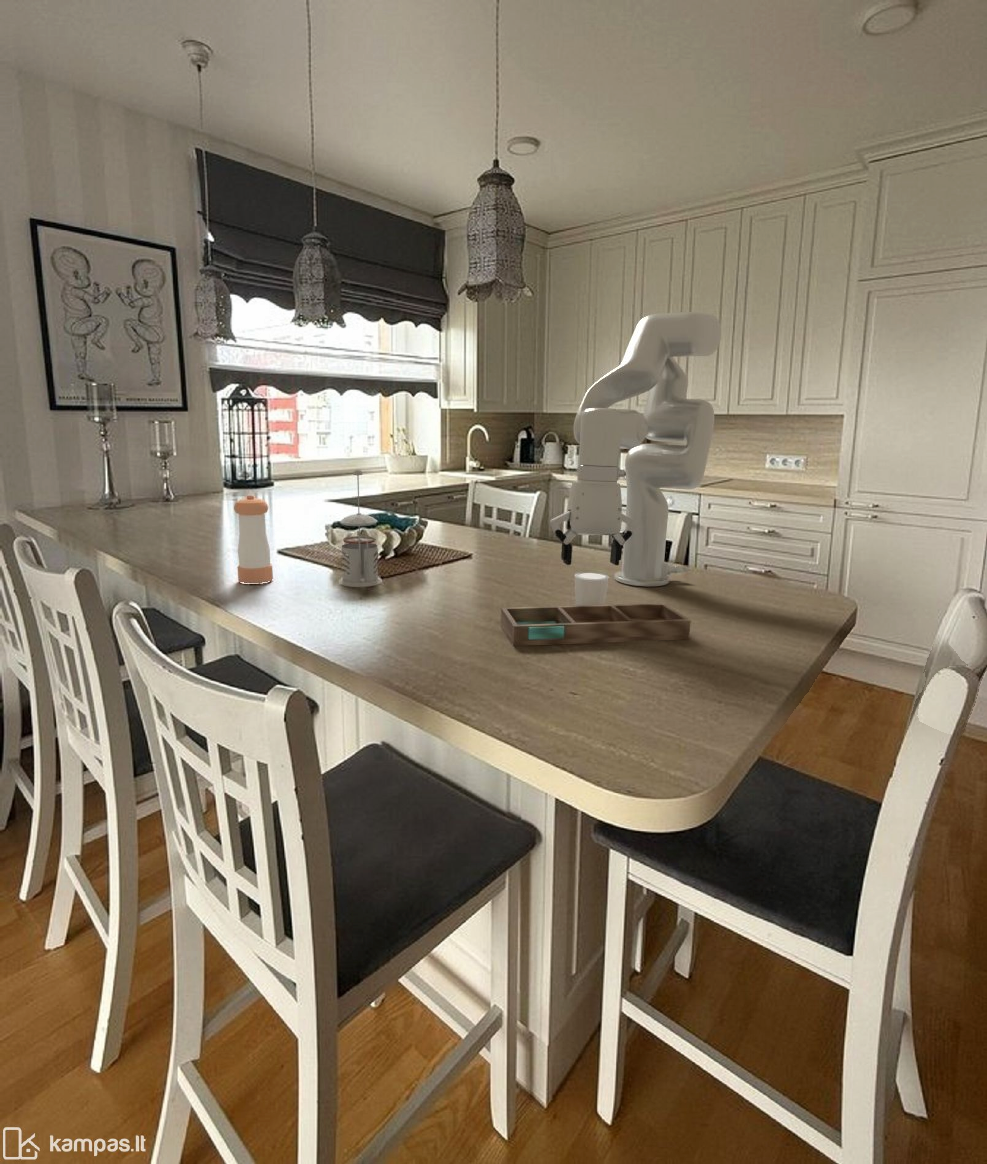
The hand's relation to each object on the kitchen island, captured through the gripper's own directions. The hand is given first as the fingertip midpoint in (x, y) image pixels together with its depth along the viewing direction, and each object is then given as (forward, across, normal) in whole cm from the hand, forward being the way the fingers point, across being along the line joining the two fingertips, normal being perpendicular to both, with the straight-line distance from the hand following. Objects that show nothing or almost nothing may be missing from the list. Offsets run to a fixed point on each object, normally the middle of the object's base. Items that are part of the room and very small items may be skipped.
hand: (590, 563), depth 131 cm
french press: (+10, +44, -27) cm, 53 cm away
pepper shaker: (+10, +67, -30) cm, 74 cm away
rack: (+10, +3, +13) cm, 17 cm away
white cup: (+10, -1, -1) cm, 10 cm away
